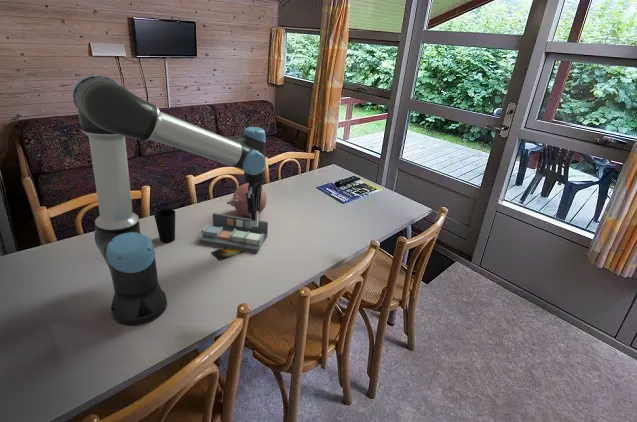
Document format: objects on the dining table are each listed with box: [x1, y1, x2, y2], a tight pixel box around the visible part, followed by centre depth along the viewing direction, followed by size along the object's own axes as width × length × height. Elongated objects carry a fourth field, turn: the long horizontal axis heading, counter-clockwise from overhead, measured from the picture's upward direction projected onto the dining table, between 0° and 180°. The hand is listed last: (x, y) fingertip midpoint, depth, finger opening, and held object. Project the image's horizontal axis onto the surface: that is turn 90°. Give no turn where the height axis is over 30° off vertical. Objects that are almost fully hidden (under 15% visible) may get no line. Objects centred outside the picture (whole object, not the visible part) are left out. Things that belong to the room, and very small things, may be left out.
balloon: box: [226, 182, 267, 217], centre depth 166 cm, size 15×20×15 cm
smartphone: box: [210, 242, 247, 262], centre depth 142 cm, size 7×1×15 cm
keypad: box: [198, 212, 269, 254], centre depth 148 cm, size 14×24×7 cm, turn 81°
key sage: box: [232, 230, 247, 242], centre depth 147 cm, size 5×5×2 cm
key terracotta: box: [218, 231, 232, 240], centre depth 148 cm, size 5×5×2 cm
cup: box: [153, 208, 176, 244], centre depth 143 cm, size 8×8×12 cm
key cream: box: [246, 233, 261, 245], centre depth 146 cm, size 5×5×2 cm
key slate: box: [204, 225, 220, 238], centre depth 148 cm, size 5×5×2 cm
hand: (254, 225), depth 144 cm, fingers closed
